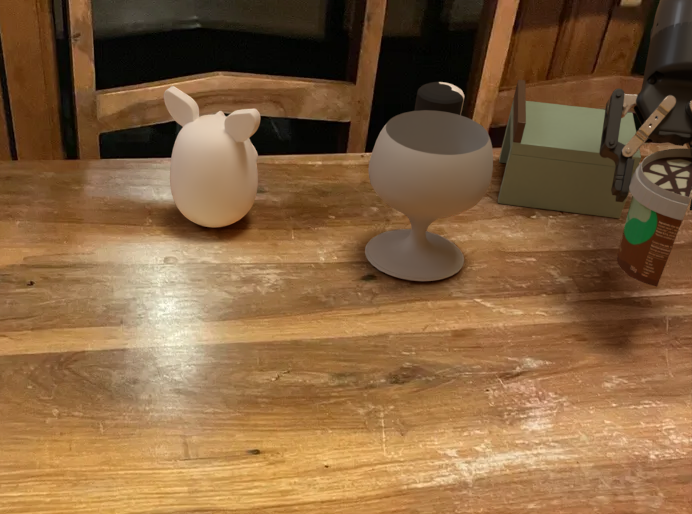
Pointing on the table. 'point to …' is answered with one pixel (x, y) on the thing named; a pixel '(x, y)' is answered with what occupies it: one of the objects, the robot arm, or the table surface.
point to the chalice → (427, 188)
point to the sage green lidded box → (559, 158)
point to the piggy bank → (212, 162)
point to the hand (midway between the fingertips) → (658, 203)
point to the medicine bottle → (440, 98)
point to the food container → (655, 213)
